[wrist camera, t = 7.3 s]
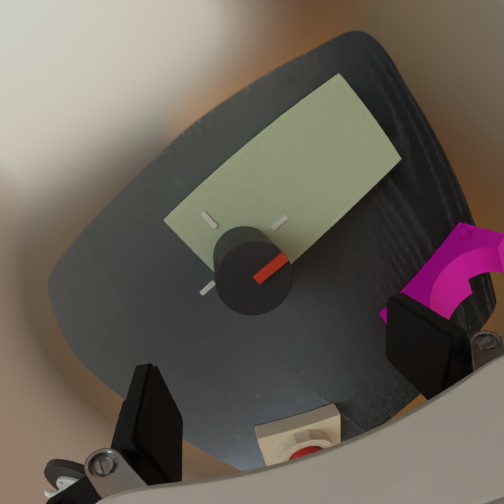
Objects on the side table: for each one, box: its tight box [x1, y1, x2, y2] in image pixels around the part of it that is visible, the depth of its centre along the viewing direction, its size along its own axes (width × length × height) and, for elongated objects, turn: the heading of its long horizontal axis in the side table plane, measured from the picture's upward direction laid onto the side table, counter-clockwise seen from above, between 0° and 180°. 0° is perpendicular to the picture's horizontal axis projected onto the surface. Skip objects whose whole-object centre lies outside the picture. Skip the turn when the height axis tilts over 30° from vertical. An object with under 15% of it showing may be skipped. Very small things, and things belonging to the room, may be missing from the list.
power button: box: [291, 446, 320, 459], centre depth 27 cm, size 4×4×2 cm
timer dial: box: [213, 226, 293, 315], centre depth 19 cm, size 4×4×6 cm
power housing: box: [254, 403, 340, 466], centre depth 29 cm, size 10×8×4 cm
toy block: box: [379, 222, 504, 324], centre depth 25 cm, size 15×6×8 cm, turn 132°
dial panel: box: [164, 74, 401, 295], centre depth 22 cm, size 20×10×3 cm, turn 131°
